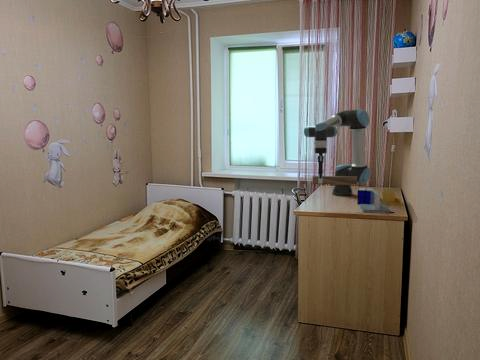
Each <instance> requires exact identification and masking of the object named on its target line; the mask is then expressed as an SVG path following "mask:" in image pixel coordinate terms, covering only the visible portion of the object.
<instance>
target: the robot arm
mask: <svg viewBox="0 0 480 360" xmlns="http://www.w3.org/2000/svg"><path fill="white" fill-rule="evenodd" d="M368 125H370V115H369V113H368V112H367V111H366V109H351V110H349V109H347V110H343V111H339V112H337V113H334V114H333V115H331V116H330V117H329V118H327V119H325V120H323V121H320V122H318V123H315V124H313V125H309V126H308V125H307V126H305V127H304V128H303V129H304V130H303V135H304V137H306V138H314V141H313V142H314V146H315V148H314V154H318V155H317V163H318V170H317V171H318V172H317V176H318V183H319V184H318V185H324V184H323V176H324V169H323V168H324V167H323V166H324V160H325V155H323V154H327V151H328V148H327V147H328V138H335V137H336V136H337V135H338V129H337V128H339V127H349V131H351V138H352V139H351V140H352V141H351V142H352V164H339V165H336V166H335V170H334V174H335V175H334V176H357V184H358V183H360V184H365V183H367V182H368V181H369V180H370V178H371V173H372V171H371V168H370V167H368V163H366V152H365V151H366V149H365V148H366V147H365V130H366V129H367V127H368ZM353 193H354V192H353V187H352V185H334V187H333V189H332V195H333V196H340V197H341V196H342V197H348V196H349V197H350V196H353V195H354V194H353Z"/></svg>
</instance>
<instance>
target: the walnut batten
mask: <svg viewBox="0 0 480 360" xmlns="http://www.w3.org/2000/svg"><path fill="white" fill-rule="evenodd" d="M312 185H320V184H319V183H318V175H312ZM322 185H334V186H335V185H351V186H354V185H355V186H357V185H358V182H357V176H335V175H323V184H322Z"/></svg>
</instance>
